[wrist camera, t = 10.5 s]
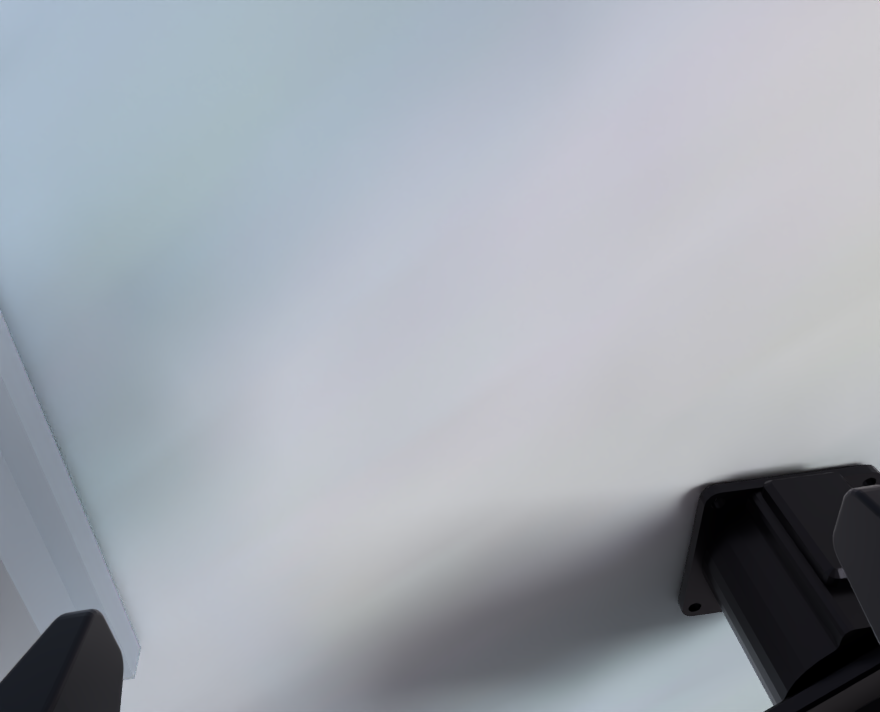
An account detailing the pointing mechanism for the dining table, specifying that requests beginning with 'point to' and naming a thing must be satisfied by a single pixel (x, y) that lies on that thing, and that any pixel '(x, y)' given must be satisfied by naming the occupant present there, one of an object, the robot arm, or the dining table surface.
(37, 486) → the display stand
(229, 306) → the dining table surface
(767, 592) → the robot arm
